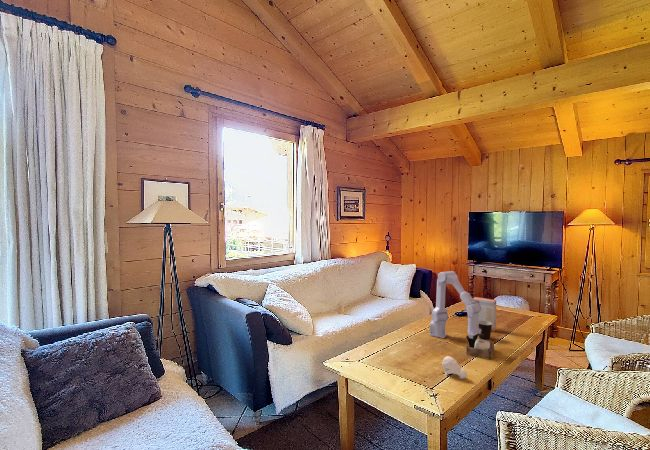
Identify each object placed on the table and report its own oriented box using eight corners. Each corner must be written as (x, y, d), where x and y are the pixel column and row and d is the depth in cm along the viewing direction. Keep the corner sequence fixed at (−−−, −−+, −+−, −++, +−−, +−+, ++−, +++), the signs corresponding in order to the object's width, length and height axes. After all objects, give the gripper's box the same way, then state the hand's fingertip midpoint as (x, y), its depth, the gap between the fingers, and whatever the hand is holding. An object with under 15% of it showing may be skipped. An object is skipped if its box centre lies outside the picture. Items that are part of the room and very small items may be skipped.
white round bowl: (471, 352, 192) (471, 342, 192) (473, 347, 200) (474, 337, 199) (488, 356, 187) (489, 346, 187) (490, 351, 195) (491, 341, 194)
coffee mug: (493, 341, 210) (493, 325, 209) (478, 340, 211) (479, 324, 211) (488, 334, 221) (488, 319, 221) (474, 333, 223) (474, 318, 222)
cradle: (466, 354, 191) (466, 345, 190) (470, 345, 203) (471, 337, 203) (491, 359, 184) (491, 350, 183) (494, 349, 197) (494, 341, 196)
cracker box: (496, 329, 229) (496, 299, 228) (493, 332, 225) (494, 301, 224) (474, 325, 239) (475, 296, 238) (472, 327, 234) (472, 298, 233)
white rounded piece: (447, 353, 172) (470, 363, 163) (446, 368, 173) (468, 379, 164) (441, 356, 168) (464, 367, 159) (439, 372, 169) (462, 384, 160)
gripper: (478, 328, 187) (478, 352, 187) (482, 321, 199) (482, 343, 200) (465, 326, 191) (464, 349, 191) (469, 319, 203) (469, 341, 203)
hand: (472, 346), depth 196 cm, fingers open, 7 cm apart
